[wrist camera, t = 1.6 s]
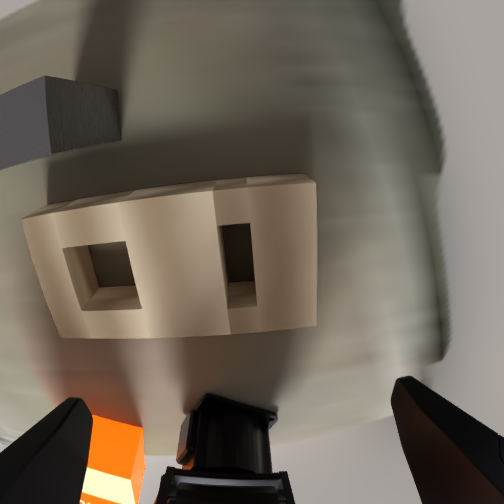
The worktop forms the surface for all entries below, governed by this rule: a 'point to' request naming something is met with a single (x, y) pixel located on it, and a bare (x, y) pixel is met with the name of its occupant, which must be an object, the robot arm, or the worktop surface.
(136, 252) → the socket block
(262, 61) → the worktop surface
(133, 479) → the orange juice
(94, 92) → the square bit
